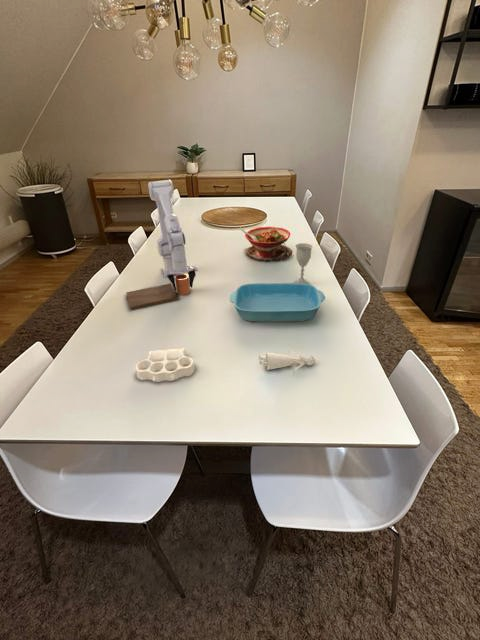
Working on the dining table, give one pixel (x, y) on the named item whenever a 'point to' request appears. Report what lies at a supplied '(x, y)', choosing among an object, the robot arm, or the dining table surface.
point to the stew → (268, 243)
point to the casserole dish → (277, 301)
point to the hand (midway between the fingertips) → (183, 288)
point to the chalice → (303, 258)
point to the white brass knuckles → (165, 365)
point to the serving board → (151, 296)
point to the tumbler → (182, 284)
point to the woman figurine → (284, 360)
